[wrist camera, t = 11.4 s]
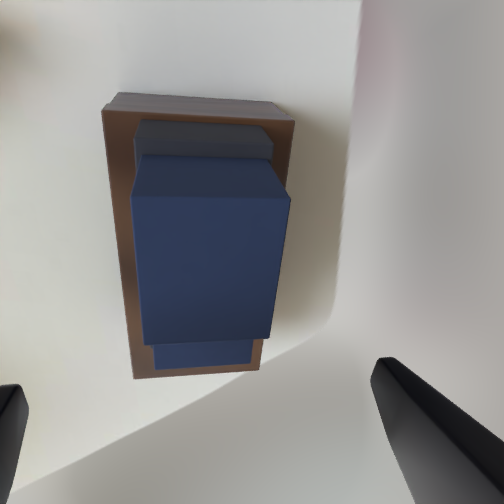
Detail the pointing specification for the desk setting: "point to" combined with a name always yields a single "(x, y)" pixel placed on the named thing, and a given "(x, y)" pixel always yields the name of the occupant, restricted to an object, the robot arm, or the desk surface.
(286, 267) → the desk surface
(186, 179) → the stepped navy block
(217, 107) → the shelf
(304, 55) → the desk surface
